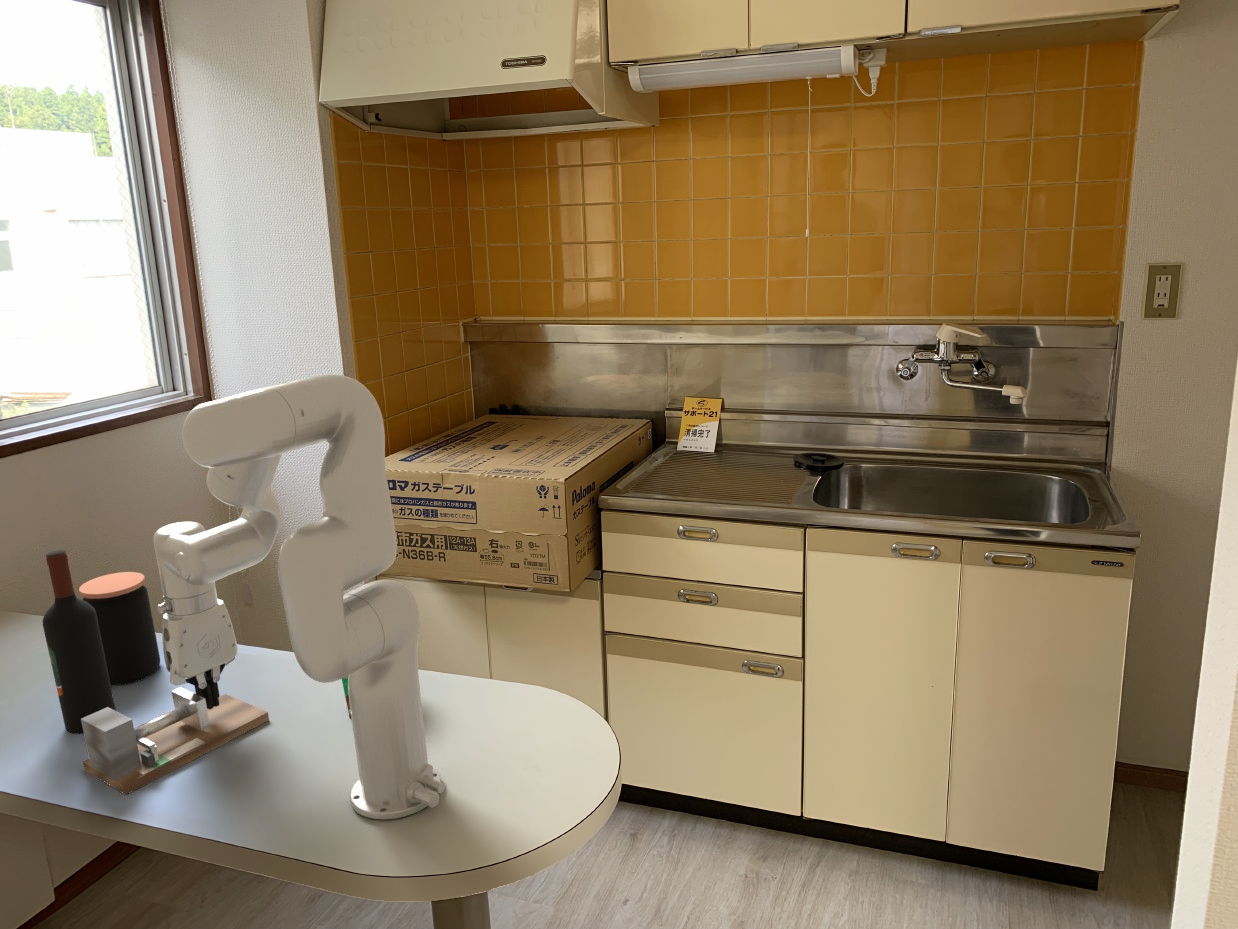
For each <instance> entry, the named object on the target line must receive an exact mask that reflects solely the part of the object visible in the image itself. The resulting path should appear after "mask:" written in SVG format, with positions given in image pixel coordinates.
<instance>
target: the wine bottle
mask: <svg viewBox="0 0 1238 929" xmlns="http://www.w3.org/2000/svg"><path fill="white" fill-rule="evenodd" d="M45 557H46V558H45V560H46V564H47V567H48V571H49V576H50V580H51V585H52V588H53V589H52V590H53V593H54V594H53V595H54V603H53V604H52V605H51V606H50V607H49V608H48V609H47V610H46V611H45V613H44V616H43V617H42V628H43V633H44V636H45V641H46V646H47V650H48V655H49V659H50V660H49V661H50V664H51V667H52V673H53V677H54V683H55V687H56V692H57V697H58V700H59V705H60V710H61V714H62V719H63V723H64V727H65V731H66V732H67V733H69V734H72V735H84V732H83V727H82V722H81V719H82V718H84V717H86V716H88V715H91V714H93V713H95V712H98V711H100V710H102V709H104V708H107V707H109V708H111V709H113V710H115V711H116V710H117V709H116V705H115V700H114V695H113V691H112V685H111V684H110V679H109V675H108V670H107V665H106V660H105V655H104V650H103V645H102V640H101V635H100V630H99V625H98V620H97V615H96V611H95V609H94V607H92V606H91V605H90V604H89V603H88V602H86V601H83V600H82V599H80V598H78V597H77V595H76V592H75V590H74V584H73V580H72V574H71V571H70V565H69V557H68V554H67V552H66V550H64V549H62V550H61V549H60V550H59V549H58V550H54V551H50V552H48V553H46V555H45Z"/></svg>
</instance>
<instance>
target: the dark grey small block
mask: <svg viewBox="0 0 1238 929" xmlns="http://www.w3.org/2000/svg"><path fill="white" fill-rule="evenodd" d="M140 754H141V759H142V764H144V765H146V766H147V767H149V768H150V767H152V766H154V765H156V762H155V756H154V753H152V752H150V751H148V750H145V751H143V752H141V753H140Z"/></svg>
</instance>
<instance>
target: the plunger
mask: <svg viewBox="0 0 1238 929" xmlns="http://www.w3.org/2000/svg"><path fill="white" fill-rule="evenodd" d="M171 696H172V700H173V706H174V709H172V710H171V711H168V712H166V713H164V714H162V715H159V716H158V717H156V718H154V719H151V720H149V721H147V722H145V723H143V724H140V725H138V726H136V727H134V731H135V736H136V741H137V744H139V745H141V746H143V747H144V748H146V749H148V750H149V751H150V752H152V753H154V756H155V761H157V760H159V758H158V752H157V747H156V746H155V743H153V742H151V741H149V740H147V739H145V738H146V737H148V736H150V735H152V734H154V733H156V732H158V731H160V730H162V729H164V728H166V727H168V726H171V725H173V724H175V723H177V722H179V721H182V722H184V723H186V724H188V725H190V726H192V727H194V728H196V729H198V730H200V731H202V730H204V729H206V728H208V727H210V723H209V717H208V712H207V706H206V700H205V698H204V697H201V696H199V695H197V694H196V693H194V692H193V691H189V690H187V689H186V688H183V687H181V686H180V687H178V688H175V689H174V690H171Z"/></svg>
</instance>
